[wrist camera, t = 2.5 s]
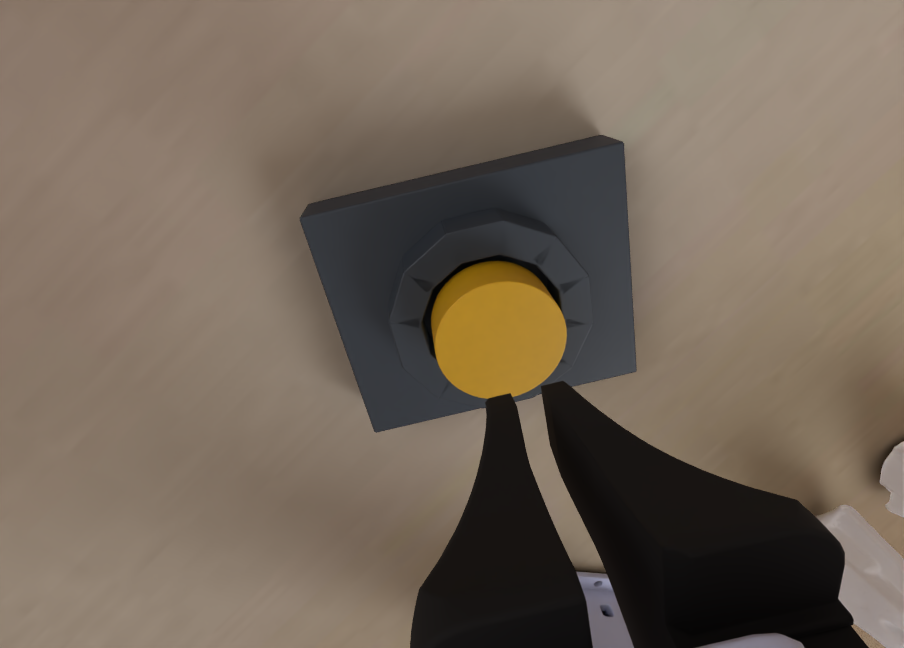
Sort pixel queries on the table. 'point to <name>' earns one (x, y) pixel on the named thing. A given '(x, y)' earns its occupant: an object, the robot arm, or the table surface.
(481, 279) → the button
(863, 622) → the white pointed piece
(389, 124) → the table surface
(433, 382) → the grey button base
